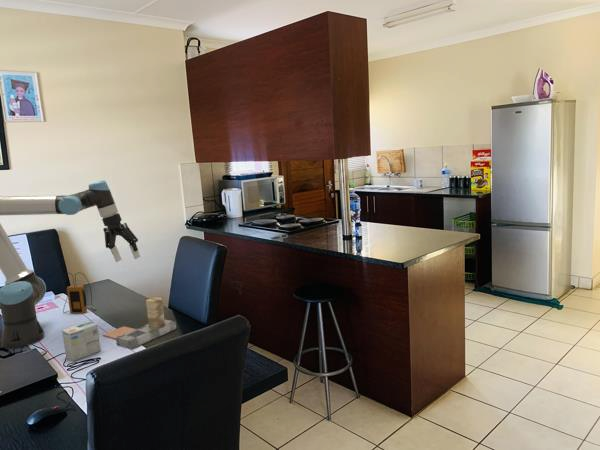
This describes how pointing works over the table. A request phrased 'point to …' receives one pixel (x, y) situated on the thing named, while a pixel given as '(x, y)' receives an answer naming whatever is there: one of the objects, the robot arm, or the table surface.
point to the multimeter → (77, 298)
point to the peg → (155, 312)
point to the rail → (144, 334)
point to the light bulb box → (81, 340)
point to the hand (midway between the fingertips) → (128, 259)
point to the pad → (118, 332)
